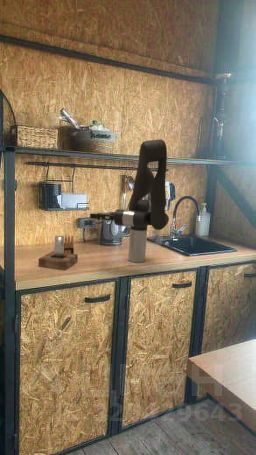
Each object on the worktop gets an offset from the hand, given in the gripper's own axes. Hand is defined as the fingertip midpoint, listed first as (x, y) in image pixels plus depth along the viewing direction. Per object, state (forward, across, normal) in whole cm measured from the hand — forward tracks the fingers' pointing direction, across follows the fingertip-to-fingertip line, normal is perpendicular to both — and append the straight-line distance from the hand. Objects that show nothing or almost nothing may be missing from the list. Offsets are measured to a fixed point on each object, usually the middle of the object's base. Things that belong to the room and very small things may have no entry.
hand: (93, 215), depth 179 cm
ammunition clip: (+22, -12, +25) cm, 35 cm away
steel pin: (+17, +1, +26) cm, 31 cm away
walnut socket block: (+17, +1, +26) cm, 31 cm away
